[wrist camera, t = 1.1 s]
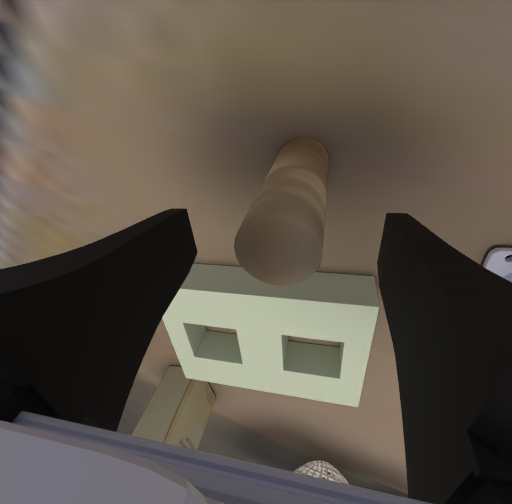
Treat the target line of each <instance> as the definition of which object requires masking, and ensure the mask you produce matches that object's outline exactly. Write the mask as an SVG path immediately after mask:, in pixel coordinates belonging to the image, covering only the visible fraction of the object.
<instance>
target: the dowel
mask: <svg viewBox="0 0 512 504" xmlns="http://www.w3.org/2000/svg"><path fill="white" fill-rule="evenodd" d="M328 166H329V159H328V155H327V152H326V150H325V148H324V147H323V146H322V145H321V144H320V143H319V142H318V141H316V140H314V139H311V138H307V137H299V138H295V139H292V140H290V141H289V142H287V143H286V144H285V145H284V146H283V147H282V148H281V150H280V152H279V154H278V156H277V157H276V159H275V161H274V163H273V165H272V167H271V169H270V171H269V173H268V175H267V177H266V179H265V180H264V182H263V184H262V186H261V188H260V190H259V192H258V194H257V196H256V198H255V200H254V202H253V203H252V205H251V207H250V209H249V211H248V213H247V215H246V217H245V219H244V221H243V223H242V225H241V226H240V228H239V230H238V232H237V235H236V237H235V243H234V248H235V254H236V257H237V259H238V261H239V263H240V264H241V266H242V267H243V268H244V270H245V271H246V272H248V273H249V274H250V275H251V276H253V277H254V278H256V279H257V280H259V281H262V282H264V283H267V284H271V285H276V286H290V285H295V284H299V283H301V282H304V281H305V280H307V279H309V278H310V277H311V276H312V275H313V274H314V273H315V272H316V271H317V269H318V268H319V266H320V263H321V259H322V249H323V235H324V221H325V207H326V194H327V180H328Z"/></svg>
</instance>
